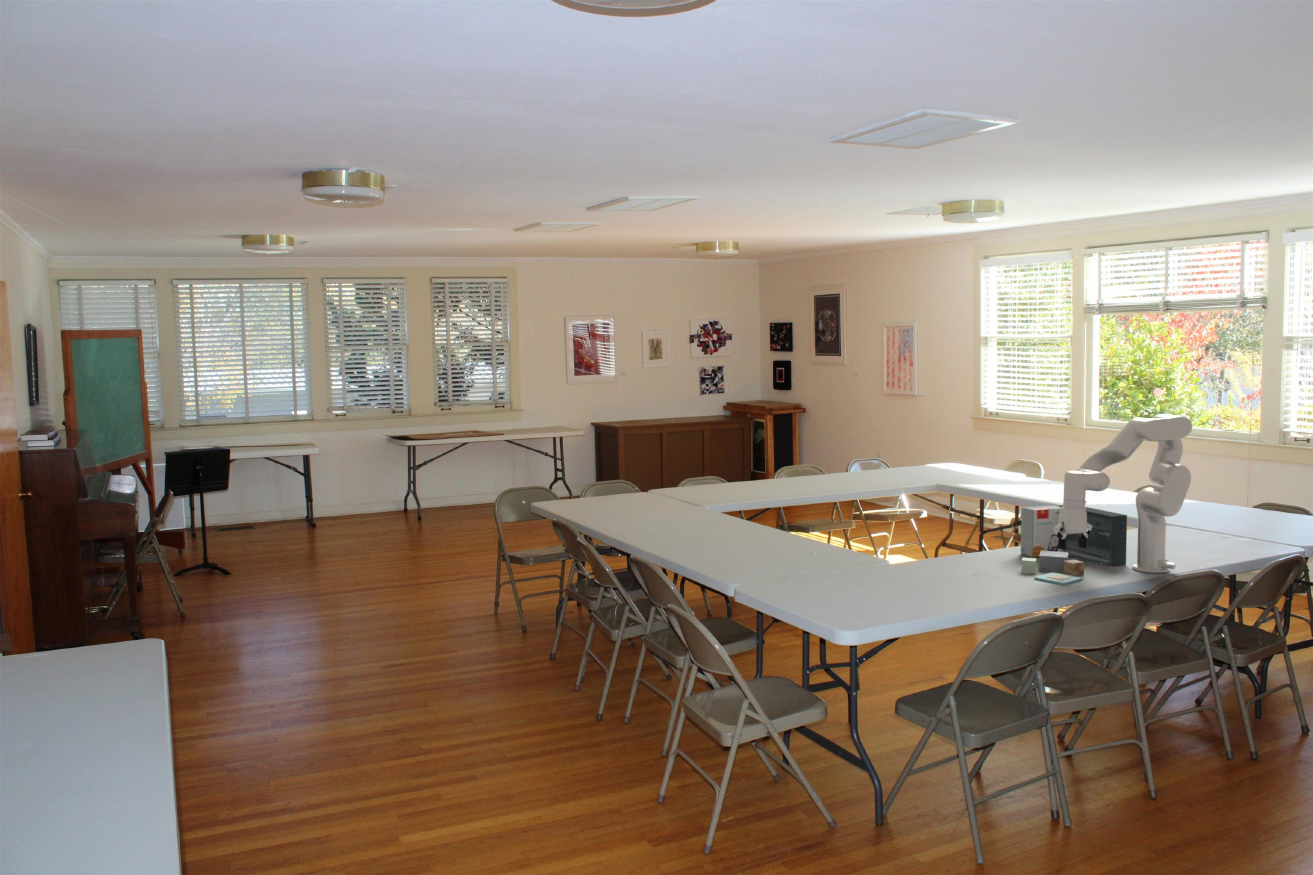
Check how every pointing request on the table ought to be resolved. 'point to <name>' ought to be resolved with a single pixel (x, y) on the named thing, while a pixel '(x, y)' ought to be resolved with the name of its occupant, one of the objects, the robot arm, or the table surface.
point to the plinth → (1052, 561)
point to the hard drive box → (1039, 530)
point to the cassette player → (1101, 538)
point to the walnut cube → (1073, 567)
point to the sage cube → (1029, 565)
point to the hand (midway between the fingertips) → (1072, 548)
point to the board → (1058, 578)
